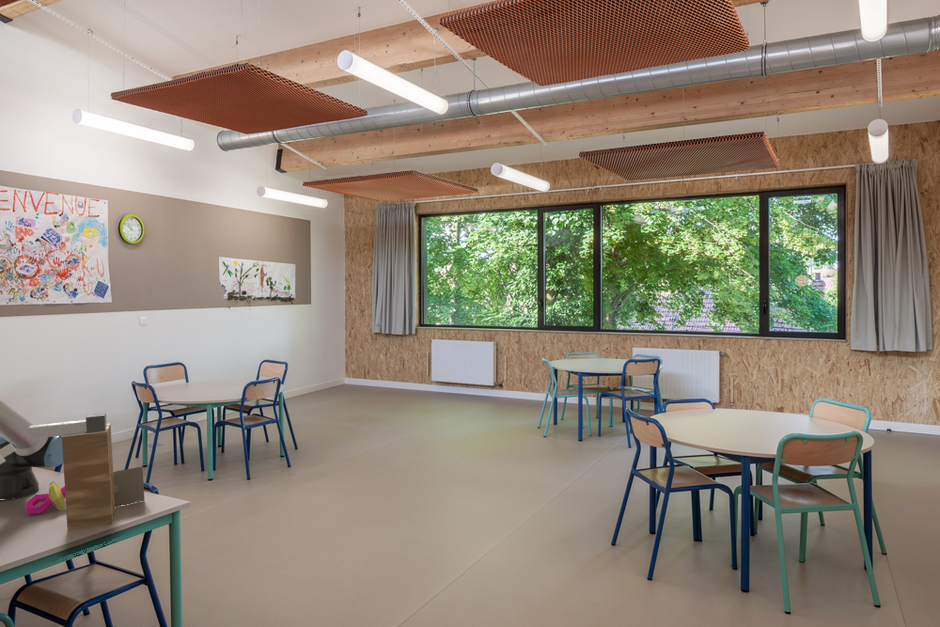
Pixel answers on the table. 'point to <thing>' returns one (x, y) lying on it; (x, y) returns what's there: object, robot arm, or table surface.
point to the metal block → (70, 427)
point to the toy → (47, 500)
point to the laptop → (128, 486)
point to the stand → (88, 479)
